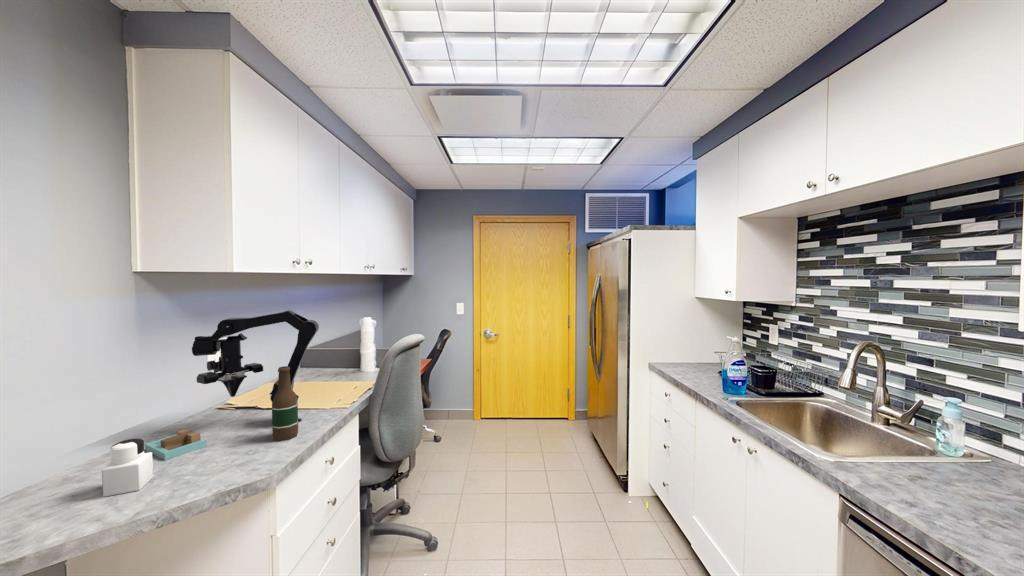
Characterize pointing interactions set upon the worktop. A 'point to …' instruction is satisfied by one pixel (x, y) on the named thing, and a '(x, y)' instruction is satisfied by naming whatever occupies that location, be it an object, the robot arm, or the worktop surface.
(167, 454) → the jig
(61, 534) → the worktop surface
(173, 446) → the t block
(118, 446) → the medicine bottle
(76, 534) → the worktop surface
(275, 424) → the beer bottle
